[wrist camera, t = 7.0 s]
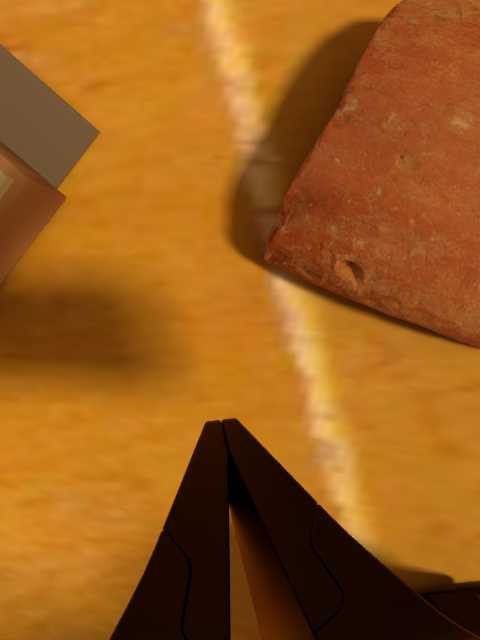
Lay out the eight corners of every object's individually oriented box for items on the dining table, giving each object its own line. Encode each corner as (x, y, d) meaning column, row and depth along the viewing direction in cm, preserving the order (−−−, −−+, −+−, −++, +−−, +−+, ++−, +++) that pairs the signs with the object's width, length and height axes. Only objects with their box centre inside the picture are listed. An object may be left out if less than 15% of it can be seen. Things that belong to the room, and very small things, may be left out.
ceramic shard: (792, 28, 12) (545, 380, 15) (596, 99, 18) (454, 337, 21) (446, -188, 10) (261, 268, 13) (363, -25, 16) (252, 256, 20)
